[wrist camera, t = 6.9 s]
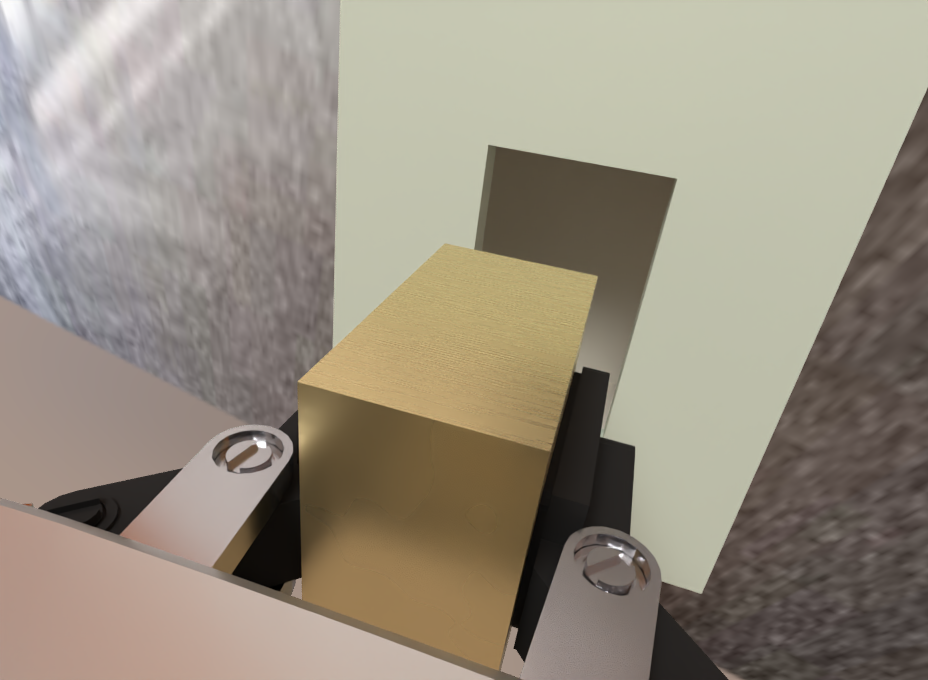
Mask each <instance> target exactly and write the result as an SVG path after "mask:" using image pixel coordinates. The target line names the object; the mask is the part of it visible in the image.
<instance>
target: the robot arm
mask: <svg viewBox="0 0 928 680" xmlns="http://www.w3.org/2000/svg"><path fill="white" fill-rule="evenodd" d="M609 377H610V373H608V372H604V371H600V370H596V369H592V368H588V367H584V366H583V369H582V373H578V372H574V375H573V379H572V383H571V387H570V390H569V394H568V398H567V402H566V405H565V409H564V413H563V417H562V421H561V424H560V428H559V432H558V436H557V439H556V443H555V447H554V451H553V454H552V458H551V462H550V466H549V469H548V473H547V477H546V481H545V485H544V488H543V492H542V496H541V500H540V505H539V509H538V513H537V517H536V521H535V526H534V530H533V534H532V538H531V542H530V547H529V551H528V555H527V559H526V563H525V568H524V572H523V576H522V580H521V584H520V589H519V593H518V597H517V601H516V606H515V610H514V614H513V618H512V622H511V626H513V627H516V628H518V632H517V636H516V641H515V645H514V649H516V650H517V651H518V653H519V655H520V656H521V658H522V659H523V661H524V666H523V669H522V672H521V675H520V678H517V677H515V676H512V675H509V674H506V673H504V672H501V671H498V670H495V669H493V668H490V667H487V666H484V665H482V664H479V663H476V662H473V661H471V660H468V659H465V658H462V657H460V656H457V655H454V654H451V653H449V652H446V651H443V650H440V649H438V648H435V647H432V646H429V645H427V644H424V643H421V642H418V641H416V640H413V639H410V638H407V637H405V636H402V635H399V634H396V633H393V632H391V631H388V630H385V629H382V628H379V627H377V626H374V625H371V624H368V623H366V622H363V621H360V620H357V619H354V618H352V617H349V616H346V615H343V614H340V613H338V612H335V611H332V610H329V609H326V608H324V607H321V606H318V605H315V604H312V603H310V602H307V601H304V600H301V599H298V598H296V597H293V596H291V594H292V592H293V589H294V586H295V583H296V579H298V578H302V566H301V520H300V474H299V428H298V410H297V411H296V412H295V413H294V414H293V415H292V416H291V417H290V418H289V419H288V420H287V421H286V422H285V423H284V424H283V425H282V426H281V427H280V428H279V429H275V428H273V427H270V426H262V425H246V426H240V427H236V428H232V429H229V430H226V431H224V432H222V433H220V434H218V435H217V436H215V437H214V438H213V439H212V440H210V441H209V442H208V443H207V444H206V445H205V446H204V447H203V448H202V449H201V450H200V451H199V452H198V453H197V454H196V456H195V457H194V458H193V459H192V460H191V461H190V462H189V463H188V464H187V465H186V466H185V467H184V468H182V469H177V470H173V471H168V472H163V473H158V474H154V475H149V476H144V477H140V478H135V479H130V480H126V481H121V482H116V483H111V484H107V485H102V486H97V487H93V488H88V489H83V490H79V491H75V492H72V493H68V494H65V495H62V496H59V497H57V498H55V499H53V500H51V501H49V502H47V503H45V504H44V505H42V506H41V507H39V508H38V509H37V508H34V506H33V504H32V503H31V504H20V503H16V502H13V501H9V500H6V499H2V498H0V680H728V679H727V678H726V676H725V675H724V674H723V673H722V672H721V671H720V670H719V669H718V668H717V666H716V665H715V664H714V663H713V662H712V661H711V660H710V659H709V658H708V656H707V655H706V654H705V653H704V652H703V651H702V650H701V649H700V648H699V646H698V645H697V644H696V643H695V642H694V641H693V640H692V639H691V638H690V637H689V635H688V634H687V633H686V632H685V631H684V630H683V629H682V628H681V627H680V625H679V624H678V623H677V622H676V621H675V620H674V619H673V618H672V617H671V615H670V614H669V613H668V612H667V611H666V610H665V609H664V608H663V607H662V605H661V604H660V603H659V598H660V590H661V582H662V581H661V570H660V567H659V565H658V563H657V561H656V559H655V557H654V556H653V555H652V553H651V552H650V551H649V550H648V549H647V547H646V546H644V545H643V544H642V543H640V542H639V541H638V540H637V539H635V538H634V537H632V536H630V528H631V512H632V497H633V481H634V465H635V446H633V445H629V444H625V443H621V442H618V441H614V440H610V439H607V438H603V437H600V434H601V428H602V422H603V415H604V409H605V403H606V396H607V390H608V383H609Z"/></svg>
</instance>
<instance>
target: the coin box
mask: <svg viewBox="0 0 928 680" xmlns="http://www.w3.org/2000/svg"><path fill="white" fill-rule="evenodd" d="M927 87H928V0H340V39H339V85H338V132H337V178H336V225H335V272H334V318H333V348H334V347H335V346H336V345H337V344H338V343H339V342H340V341H342V340H343V339H344V338H345V337H346V336H347V335H348V334H349V333H350V332H351V331H352V330H353V329H354V328H355V327H356V326H357V325H359V324H360V323H361V322H362V321H363V320H364V319H365V318H366V317H367V316H368V315H369V314H370V313H371V312H372V311H373V310H374V309H376V308H377V307H378V306H379V305H380V304H381V303H382V302H383V301H384V300H385V299H386V298H387V297H388V296H389V295H390V294H392V293H393V292H394V291H395V290H396V289H397V288H398V287H399V286H400V285H401V284H402V283H403V282H404V281H405V280H406V279H407V278H409V277H410V276H411V275H412V274H413V273H414V272H415V271H416V270H417V269H418V268H419V267H420V266H421V265H422V264H423V263H424V262H426V261H427V260H428V259H429V258H430V257H431V256H432V255H433V254H434V253H435V252H436V251H437V250H438V249H439V248H440V247H441V246H443V245H444V244H445V243H446V244H451V245H455V246H460V247H465V248H469V249H474V250H479V251H483V252H488V253H493V254H497V255H502V256H507V257H511V258H516V259H521V260H525V261H530V262H535V263H539V264H544V265H549V266H553V267H558V268H563V269H567V270H572V271H577V272H581V273H586V274H591V275H595V276H598V278H597V282H596V287H595V291H594V295H593V299H592V303H591V307H590V311H589V316H588V320H587V324H586V328H585V332H584V336H583V340H582V345H581V349H580V353H579V357H578V361H577V365H576V370H575V372H578V373H582V369H583V366H584V367H588V368H592V369H596V370H600V371H604V372H608V373H610V377H609V383H608V390H607V396H606V403H605V409H604V415H603V422H602V428H601V434H600V437H603V438H607V439H610V440H614V441H618V442H621V443H625V444H629V445H633V446H635V465H634V481H633V497H632V512H631V528H630V536H632V537H634V538H635V539H637V540H638V541H639V542H640V543H642V544H643V545H644V546H646V547H647V549H648V550H649V551H650V552H651V553H652V555H653V556H654V557H655V559H656V561H657V563H658V565H659V567H660V570H661V581H663V582H666V583H669V584H672V585H675V586H678V587H681V588H685V589H688V590H691V591H694V592H697V593H700V594H702V592H703V589H704V587H705V585H706V583H707V580H708V578H709V576H710V574H711V571H712V569H713V567H714V565H715V562H716V560H717V558H718V556H719V553H720V551H721V549H722V547H723V544H724V542H725V540H726V538H727V536H728V533H729V531H730V529H731V527H732V524H733V522H734V520H735V518H736V515H737V513H738V511H739V509H740V506H741V504H742V502H743V500H744V497H745V495H746V493H747V491H748V488H749V486H750V484H751V482H752V480H753V477H754V475H755V473H756V471H757V468H758V466H759V464H760V462H761V459H762V457H763V455H764V453H765V450H766V448H767V446H768V444H769V441H770V439H771V437H772V435H773V432H774V430H775V428H776V426H777V423H778V421H779V419H780V417H781V415H782V412H783V410H784V408H785V406H786V403H787V401H788V399H789V397H790V394H791V392H792V390H793V388H794V385H795V383H796V381H797V379H798V376H799V374H800V372H801V370H802V367H803V365H804V363H805V361H806V359H807V356H808V354H809V352H810V350H811V347H812V345H813V343H814V341H815V338H816V336H817V334H818V332H819V329H820V327H821V325H822V323H823V320H824V318H825V316H826V314H827V311H828V309H829V307H830V305H831V303H832V300H833V298H834V296H835V294H836V291H837V289H838V287H839V285H840V282H841V280H842V278H843V276H844V273H845V271H846V269H847V267H848V264H849V262H850V260H851V258H852V255H853V253H854V251H855V249H856V247H857V244H858V242H859V240H860V238H861V235H862V233H863V231H864V229H865V226H866V224H867V222H868V220H869V217H870V215H871V213H872V211H873V208H874V206H875V204H876V202H877V199H878V197H879V195H880V193H881V191H882V188H883V186H884V184H885V182H886V179H887V177H888V175H889V173H890V170H891V168H892V166H893V164H894V161H895V159H896V157H897V155H898V152H899V150H900V148H901V146H902V143H903V141H904V139H905V137H906V135H907V132H908V130H909V128H910V126H911V123H912V121H913V119H914V117H915V114H916V112H917V110H918V108H919V105H920V103H921V101H922V99H923V96H924V94H925V92H926V90H927Z"/></svg>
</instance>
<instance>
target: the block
mask: <svg viewBox="0 0 928 680" xmlns="http://www.w3.org/2000/svg"><path fill="white" fill-rule="evenodd" d="M597 278H598V276H595V275H591V274H586V273H581V272H577V271H572V270H567V269H563V268H558V267H553V266H549V265H544V264H539V263H535V262H530V261H525V260H521V259H516V258H511V257H507V256H502V255H497V254H493V253H488V252H483V251H479V250H474V249H469V248H465V247H460V246H455V245H451V244H446V243H445V244H444V245H443V246H441V247H440V248H439V249H438V250H437V251H436V252H435V253H434V254H433V255H432V256H431V257H430V258H429V259H428V260H427V261H426V262H424V263H423V264H422V265H421V266H420V267H419V268H418V269H417V270H416V271H415V272H414V273H413V274H412V275H411V276H410V277H409V278H407V279H406V280H405V281H404V282H403V283H402V284H401V285H400V286H399V287H398V288H397V289H396V290H395V291H394V292H393V293H392V294H390V295H389V296H388V297H387V298H386V299H385V300H384V301H383V302H382V303H381V304H380V305H379V306H378V307H377V308H376V309H374V310H373V311H372V312H371V313H370V314H369V315H368V316H367V317H366V318H365V319H364V320H363V321H362V322H361V323H360V324H359V325H357V326H356V327H355V328H354V329H353V330H352V331H351V332H350V333H349V334H348V335H347V336H346V337H345V338H344V339H343V340H342V341H340V342H339V343H338V344H337V345H336V346H335V347H334V348H333V349H332V350H331V351H330V352H329V353H328V354H327V355H326V356H325V357H323V358H322V359H321V360H320V361H319V362H318V363H317V364H316V365H315V366H314V367H313V368H312V369H311V370H310V371H309V372H308V373H306V374H305V375H304V376H303V377H302V378H301V379H300V380H299V381H298V428H299V474H300V520H301V566H302V600H304V601H307V602H310V603H312V604H315V605H318V606H321V607H324V608H326V609H329V610H332V611H335V612H338V613H340V614H343V615H346V616H349V617H352V618H354V619H357V620H360V621H363V622H366V623H368V624H371V625H374V626H377V627H379V628H382V629H385V630H388V631H391V632H393V633H396V634H399V635H402V636H405V637H407V638H410V639H413V640H416V641H418V642H421V643H424V644H427V645H429V646H432V647H435V648H438V649H440V650H443V651H446V652H449V653H451V654H454V655H457V656H460V657H462V658H465V659H468V660H471V661H473V662H476V663H479V664H482V665H484V666H487V667H490V668H493V669H495V670H498V671H500V670H501V666H502V662H503V659H504V654H505V651H506V647H507V643H508V639H509V635H510V631H511V627H512V626H511V622H512V618H513V614H514V610H515V606H516V601H517V597H518V593H519V589H520V584H521V580H522V576H523V572H524V568H525V563H526V559H527V555H528V551H529V547H530V542H531V538H532V534H533V530H534V526H535V521H536V517H537V513H538V509H539V505H540V500H541V496H542V492H543V488H544V485H545V481H546V477H547V473H548V469H549V466H550V462H551V458H552V454H553V451H554V447H555V443H556V439H557V436H558V432H559V428H560V424H561V421H562V417H563V413H564V409H565V405H566V402H567V398H568V394H569V390H570V387H571V383H572V379H573V375H574V372H575V370H576V365H577V361H578V357H579V353H580V349H581V345H582V340H583V336H584V332H585V328H586V324H587V320H588V316H589V311H590V307H591V303H592V299H593V295H594V291H595V287H596V282H597Z"/></svg>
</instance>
